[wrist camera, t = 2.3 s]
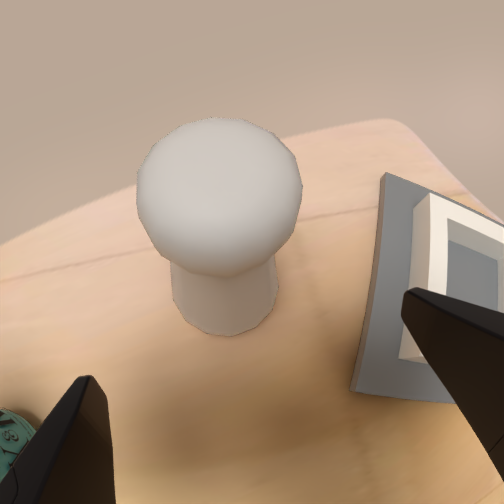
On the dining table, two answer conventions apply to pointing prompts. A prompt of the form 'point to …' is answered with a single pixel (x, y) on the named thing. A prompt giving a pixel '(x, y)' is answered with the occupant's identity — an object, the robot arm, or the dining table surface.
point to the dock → (422, 282)
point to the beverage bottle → (12, 438)
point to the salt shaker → (220, 218)
